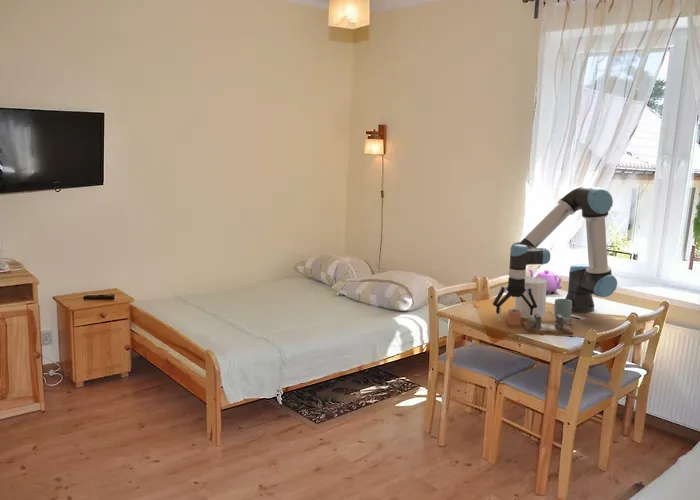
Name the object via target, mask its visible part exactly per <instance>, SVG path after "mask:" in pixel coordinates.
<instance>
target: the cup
mask: <svg viewBox="0 0 700 500" xmlns="http://www.w3.org/2000/svg"><path fill="white" fill-rule="evenodd" d="M553 307H554V308H553V315H554V318H555V320H556V314H561V315H562V316H563V318H571V316H572V311H571V310H572V301H571V300H568V299H565V298H556V299H554V306H553Z"/></svg>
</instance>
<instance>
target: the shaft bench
mask: <svg viewBox="0 0 700 500" xmlns="http://www.w3.org/2000/svg"><path fill="white" fill-rule="evenodd" d="M572 324H573V323H572V317H570V318H563V316H562V315H561V314H556V319H555V323H546V322H542V318H541V316H540V315H539V314H535V316H534V317H527V318H526V322H523V326H524V327H523V328H525V330H526V331H527V333H531V334H532V333H534V334H554V335H555V334H556V335H557V334H560V335H561V334H562V335H574V330H573V329H572V328H571V327H570V325H572Z"/></svg>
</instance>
